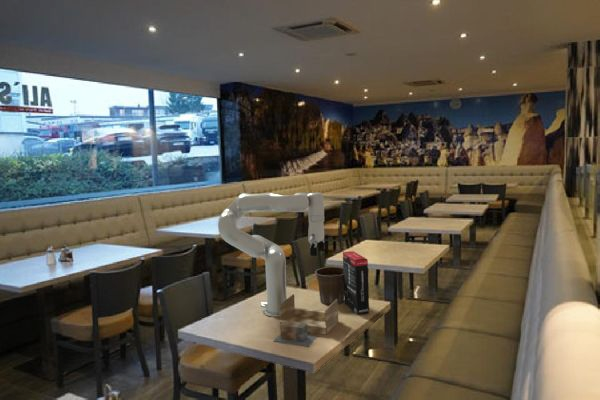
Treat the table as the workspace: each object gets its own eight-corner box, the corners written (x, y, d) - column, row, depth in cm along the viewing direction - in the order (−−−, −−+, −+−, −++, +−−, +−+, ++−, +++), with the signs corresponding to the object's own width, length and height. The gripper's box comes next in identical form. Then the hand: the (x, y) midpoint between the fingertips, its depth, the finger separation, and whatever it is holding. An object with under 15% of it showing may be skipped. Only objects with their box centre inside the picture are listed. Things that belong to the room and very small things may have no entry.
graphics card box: (370, 314, 216) (369, 257, 212) (356, 316, 214) (355, 259, 211) (355, 302, 232) (354, 250, 229) (343, 304, 230) (341, 251, 227)
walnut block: (280, 338, 191) (280, 325, 190) (285, 334, 195) (285, 320, 195) (302, 342, 187) (302, 328, 186) (307, 337, 191) (306, 323, 191)
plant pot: (335, 309, 224) (334, 277, 222) (309, 302, 234) (308, 272, 232) (353, 300, 236) (353, 269, 234) (328, 294, 247) (328, 265, 245)
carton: (278, 330, 201) (277, 305, 200) (295, 315, 217) (294, 293, 216) (325, 336, 192) (324, 311, 191) (339, 321, 209) (338, 297, 207)
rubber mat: (273, 341, 189) (273, 340, 189) (283, 332, 198) (283, 331, 198) (308, 347, 183) (308, 346, 183) (317, 337, 192) (317, 336, 192)
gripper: (315, 215, 228) (316, 248, 230) (302, 221, 212) (303, 257, 214) (329, 215, 225) (330, 249, 227) (317, 221, 209) (318, 258, 211)
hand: (317, 253), depth 221 cm, fingers open, 9 cm apart
